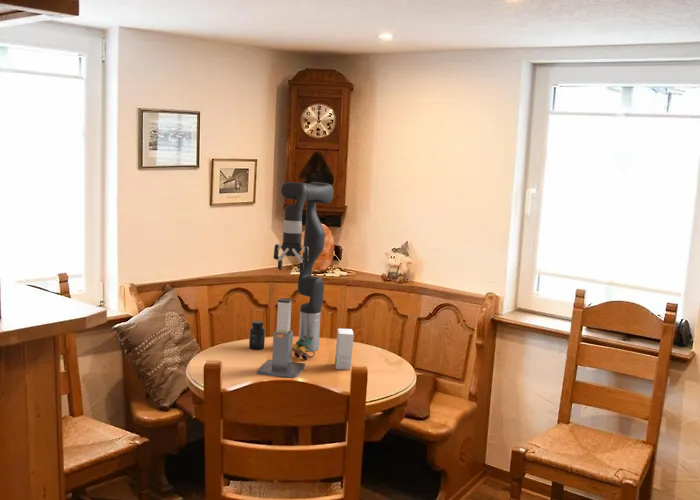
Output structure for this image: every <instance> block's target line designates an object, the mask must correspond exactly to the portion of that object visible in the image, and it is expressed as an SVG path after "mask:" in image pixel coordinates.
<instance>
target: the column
mask: <svg viewBox="0 0 700 500" xmlns="http://www.w3.org/2000/svg"><path fill="white" fill-rule="evenodd" d="M292 300H293V299H292V298H284V297H281V298H279V299H277V318H276V330H275V332H277V333H279V334H289V333H290V331H291V319H292V318H291V315H292Z"/></svg>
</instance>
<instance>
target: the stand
mask: <svg viewBox="0 0 700 500" xmlns="http://www.w3.org/2000/svg"><path fill="white" fill-rule="evenodd" d="M293 336H294V331H293V330H290V333H289V334H279V333H277V332H276V331H274V332H273V335H272V338H273V339H272V341H273V342H272V355H271V356H272V357H271V358H272V359H267V360H266V361H265V362H263V364H262V365H261V366H260V367H259V368H258V369H256V375H259V376H270V377H277V378H287V379H294V378H295V377H297V378H298V377H299V376H300V374H301V373H302V372H303V370H304V369H305V368H306V363H304V362H294V361H293V360H292V359H293V356H292V355H293V350H292V346H293V342H294V341H293V339H294V337H293ZM293 377H294V378H293Z"/></svg>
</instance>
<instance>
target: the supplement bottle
mask: <svg viewBox="0 0 700 500" xmlns="http://www.w3.org/2000/svg"><path fill="white" fill-rule="evenodd" d="M251 322H252V323H251V326H252V327H250V328H249V338H248V339H249V342H248V348H249V349H250V350H253V351H261V350H264V349H265V342H266V341H265V339H266V338H265V337H266V328H264V322H263V321H261V320H253V321H251Z"/></svg>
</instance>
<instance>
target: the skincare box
mask: <svg viewBox="0 0 700 500" xmlns="http://www.w3.org/2000/svg"><path fill="white" fill-rule="evenodd" d="M336 333H337V334H336V344H335V345H336V346H335V347H336V348H335V357H334V358H335V359H334V366H335V370H347V371H350V367H351V368H352V359H353V358H352V357H353V349H354V348H353V347H354V338H355V337H354V335H355V334H354V331H353V329H352V328H337V332H336Z"/></svg>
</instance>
